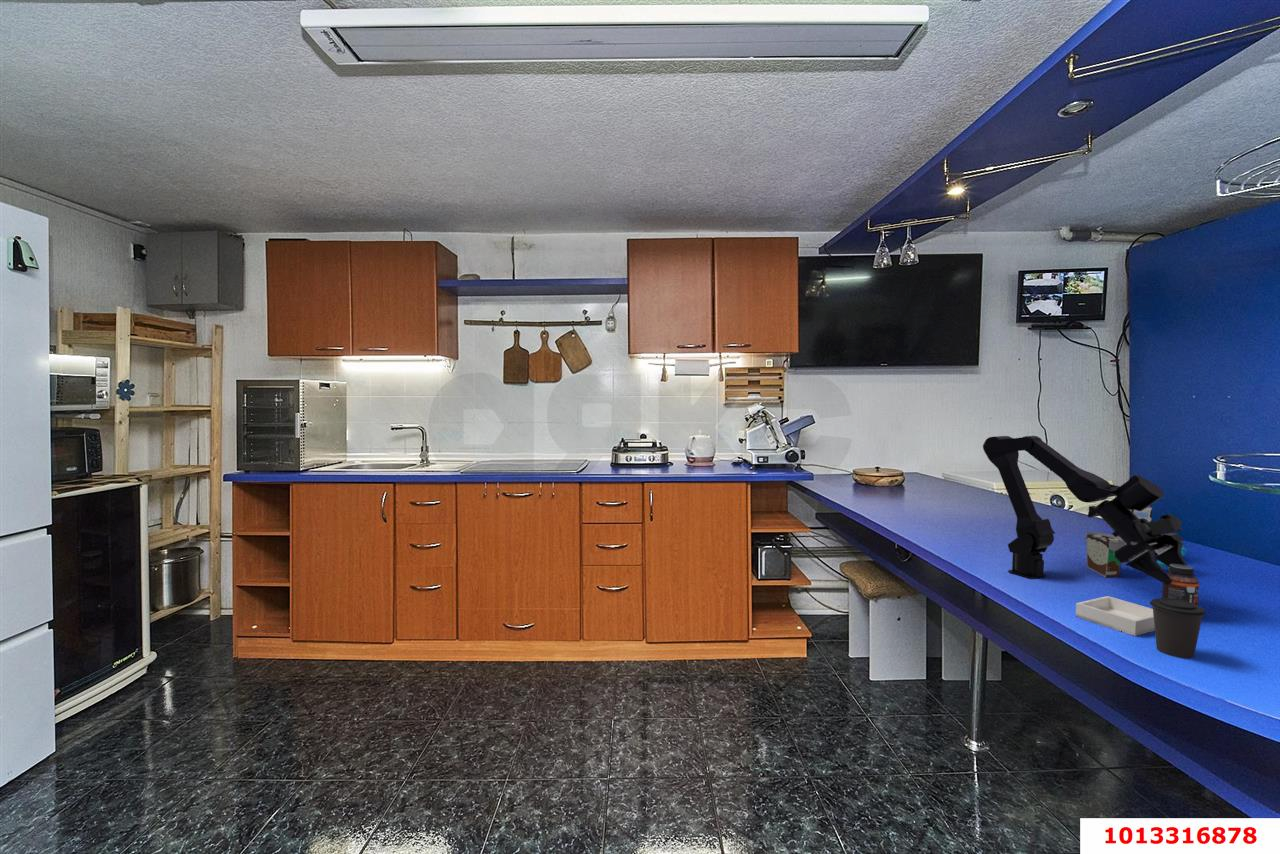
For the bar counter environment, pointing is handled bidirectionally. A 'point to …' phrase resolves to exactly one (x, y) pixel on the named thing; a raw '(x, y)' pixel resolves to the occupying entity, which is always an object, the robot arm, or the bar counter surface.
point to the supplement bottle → (1181, 584)
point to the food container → (1103, 553)
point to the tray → (1117, 615)
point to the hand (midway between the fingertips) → (1180, 580)
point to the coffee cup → (1176, 626)
